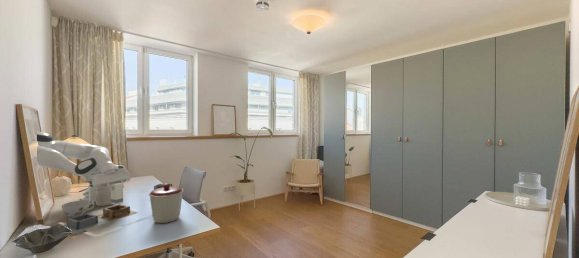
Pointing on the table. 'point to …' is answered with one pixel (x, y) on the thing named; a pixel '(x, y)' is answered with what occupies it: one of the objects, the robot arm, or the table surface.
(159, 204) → the canister
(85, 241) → the table surface
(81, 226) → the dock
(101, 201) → the jar
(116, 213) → the brown open box
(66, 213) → the teacup
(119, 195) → the plug
